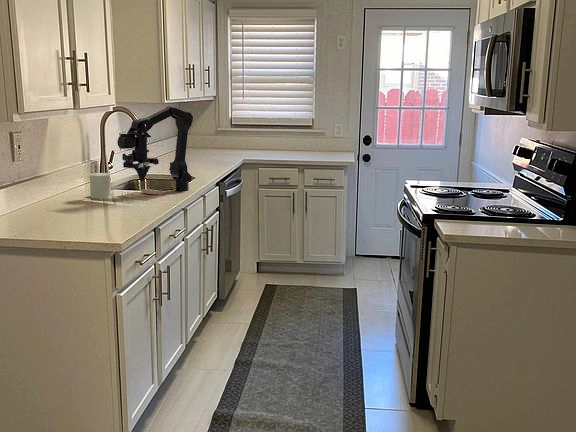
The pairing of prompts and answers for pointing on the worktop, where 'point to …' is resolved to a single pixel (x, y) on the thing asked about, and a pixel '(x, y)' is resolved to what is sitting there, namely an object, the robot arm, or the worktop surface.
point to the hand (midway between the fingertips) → (141, 181)
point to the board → (141, 196)
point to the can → (100, 186)
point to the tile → (152, 191)
